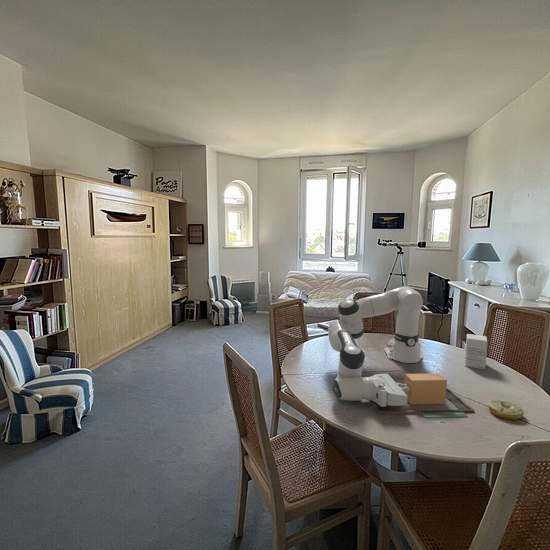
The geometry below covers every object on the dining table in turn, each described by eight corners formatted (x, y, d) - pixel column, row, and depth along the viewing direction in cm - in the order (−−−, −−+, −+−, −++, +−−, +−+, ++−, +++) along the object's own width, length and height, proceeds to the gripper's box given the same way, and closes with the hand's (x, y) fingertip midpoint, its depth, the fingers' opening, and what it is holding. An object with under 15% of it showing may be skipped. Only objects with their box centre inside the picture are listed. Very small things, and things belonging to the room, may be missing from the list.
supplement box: (464, 360, 172) (466, 333, 170) (484, 363, 167) (486, 335, 165) (464, 366, 164) (466, 338, 162) (485, 369, 159) (487, 340, 157)
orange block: (404, 396, 133) (405, 373, 132) (437, 396, 133) (438, 373, 132) (410, 404, 127) (412, 380, 126) (445, 403, 127) (446, 379, 126)
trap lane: (361, 387, 141) (361, 386, 141) (444, 386, 142) (444, 384, 142) (380, 418, 117) (380, 416, 117) (479, 416, 118) (479, 414, 118)
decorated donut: (481, 406, 126) (482, 397, 125) (510, 406, 125) (510, 397, 125) (499, 421, 116) (499, 411, 115) (529, 422, 115) (530, 412, 115)
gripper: (366, 383, 139) (397, 383, 139) (383, 409, 119) (420, 408, 119) (366, 370, 138) (398, 369, 139) (384, 393, 118) (421, 392, 118)
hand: (408, 387), depth 129 cm, fingers closed, pressing on orange block
